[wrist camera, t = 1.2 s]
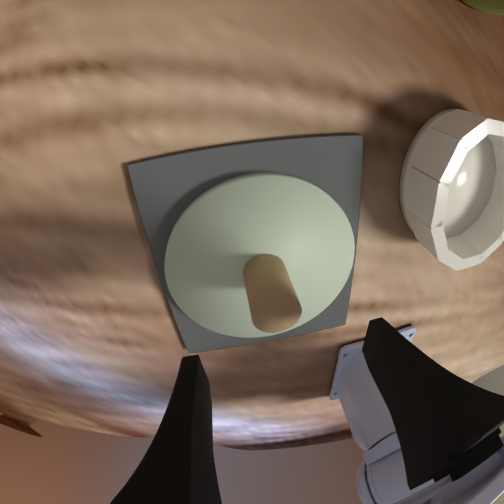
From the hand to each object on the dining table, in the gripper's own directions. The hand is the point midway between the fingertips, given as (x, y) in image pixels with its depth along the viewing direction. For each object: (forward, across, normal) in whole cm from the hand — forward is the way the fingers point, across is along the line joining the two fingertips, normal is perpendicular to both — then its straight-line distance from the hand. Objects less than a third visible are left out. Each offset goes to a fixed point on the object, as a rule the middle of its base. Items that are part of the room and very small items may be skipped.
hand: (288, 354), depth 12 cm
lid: (+7, 0, 0) cm, 7 cm away
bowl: (+7, -14, -4) cm, 16 cm away
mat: (+7, 0, 0) cm, 7 cm away
